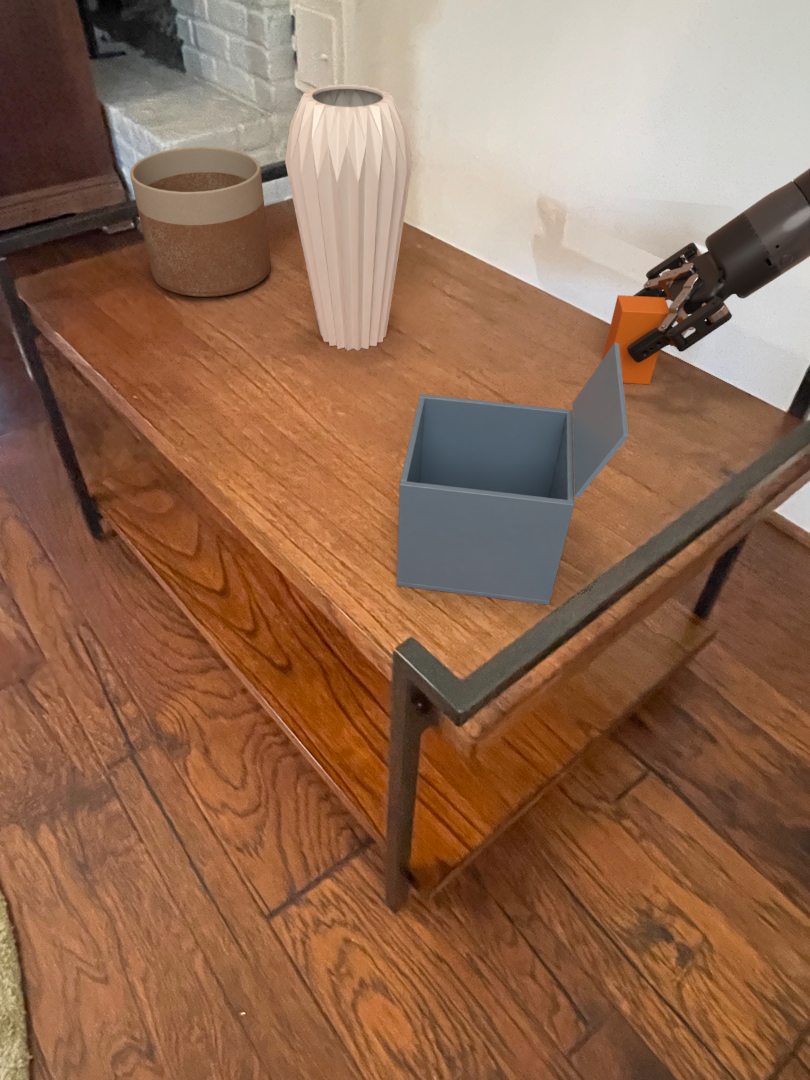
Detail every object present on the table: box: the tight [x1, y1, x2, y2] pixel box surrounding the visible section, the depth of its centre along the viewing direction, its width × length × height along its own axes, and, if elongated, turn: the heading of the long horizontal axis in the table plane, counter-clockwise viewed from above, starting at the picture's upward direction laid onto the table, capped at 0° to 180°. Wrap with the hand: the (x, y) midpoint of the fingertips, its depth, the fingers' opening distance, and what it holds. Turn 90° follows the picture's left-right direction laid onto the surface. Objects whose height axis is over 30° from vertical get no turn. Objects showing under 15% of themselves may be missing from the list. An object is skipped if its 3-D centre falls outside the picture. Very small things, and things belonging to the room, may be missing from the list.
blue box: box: [395, 393, 575, 606], centre depth 64 cm, size 13×12×12 cm
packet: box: [601, 294, 669, 385], centre depth 85 cm, size 5×4×9 cm
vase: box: [284, 83, 413, 352], centre depth 84 cm, size 13×13×26 cm
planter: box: [129, 146, 271, 298], centre depth 98 cm, size 16×16×14 cm
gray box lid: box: [572, 343, 629, 499], centre depth 57 cm, size 6×12×1 cm
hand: (625, 335), depth 85 cm, fingers open, 8 cm apart
